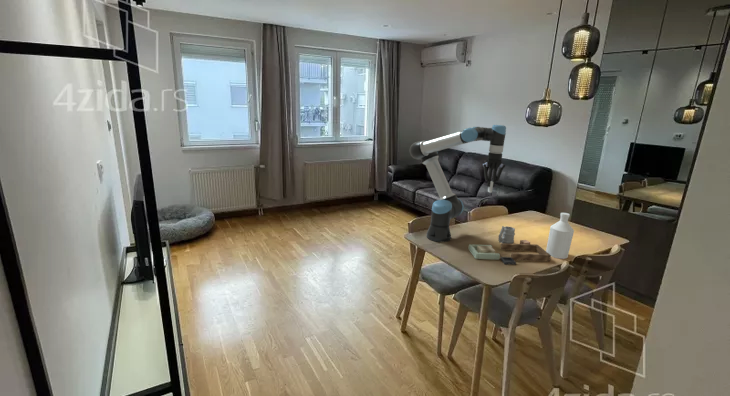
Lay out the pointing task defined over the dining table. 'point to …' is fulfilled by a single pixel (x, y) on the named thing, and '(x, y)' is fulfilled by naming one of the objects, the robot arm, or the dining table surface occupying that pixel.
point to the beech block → (485, 249)
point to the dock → (477, 255)
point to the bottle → (560, 238)
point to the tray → (507, 260)
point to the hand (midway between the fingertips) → (489, 192)
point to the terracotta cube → (524, 242)
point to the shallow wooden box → (541, 252)
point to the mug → (507, 235)
